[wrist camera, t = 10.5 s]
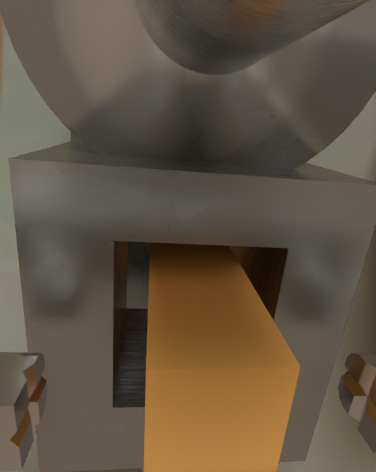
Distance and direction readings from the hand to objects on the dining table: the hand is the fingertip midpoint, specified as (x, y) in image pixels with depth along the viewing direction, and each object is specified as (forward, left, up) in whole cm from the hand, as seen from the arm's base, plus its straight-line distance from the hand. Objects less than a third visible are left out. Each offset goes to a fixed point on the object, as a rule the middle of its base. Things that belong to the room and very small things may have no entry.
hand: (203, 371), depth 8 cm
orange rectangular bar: (0, 0, -12) cm, 12 cm away
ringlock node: (0, -4, -14) cm, 14 cm away
